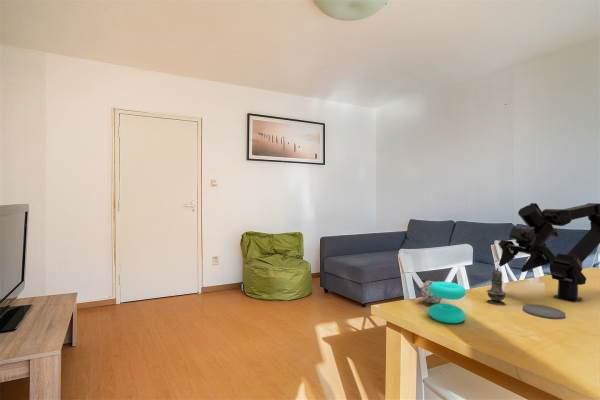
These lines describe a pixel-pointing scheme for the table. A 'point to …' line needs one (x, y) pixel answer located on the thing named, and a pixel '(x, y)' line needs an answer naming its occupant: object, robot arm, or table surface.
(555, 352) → the table surface
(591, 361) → the table surface
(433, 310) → the donuts
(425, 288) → the game die
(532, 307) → the charcoal mat
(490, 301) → the dark grey tall piece
